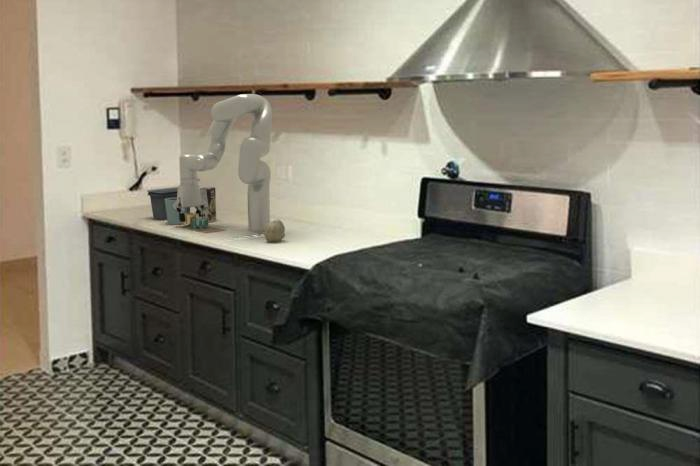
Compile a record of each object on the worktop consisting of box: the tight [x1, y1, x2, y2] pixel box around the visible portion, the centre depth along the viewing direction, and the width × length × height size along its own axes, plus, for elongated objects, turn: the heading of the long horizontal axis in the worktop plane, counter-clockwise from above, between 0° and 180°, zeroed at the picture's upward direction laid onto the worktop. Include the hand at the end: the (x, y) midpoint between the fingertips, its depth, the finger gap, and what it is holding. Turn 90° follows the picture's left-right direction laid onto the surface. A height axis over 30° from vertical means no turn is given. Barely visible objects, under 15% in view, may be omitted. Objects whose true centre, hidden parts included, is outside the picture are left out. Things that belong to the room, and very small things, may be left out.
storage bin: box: [146, 186, 191, 221], centre depth 406 cm, size 21×16×14 cm
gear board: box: [174, 217, 227, 234], centre depth 362 cm, size 26×11×6 cm, turn 41°
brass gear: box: [182, 212, 199, 225], centre depth 369 cm, size 8×8×4 cm
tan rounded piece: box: [261, 219, 286, 243], centre depth 336 cm, size 9×8×10 cm
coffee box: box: [199, 186, 217, 224], centre depth 392 cm, size 9×6×16 cm
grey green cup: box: [165, 197, 186, 226], centre depth 386 cm, size 10×10×12 cm
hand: (190, 220), depth 369 cm, fingers closed on brass gear, 7 cm apart
